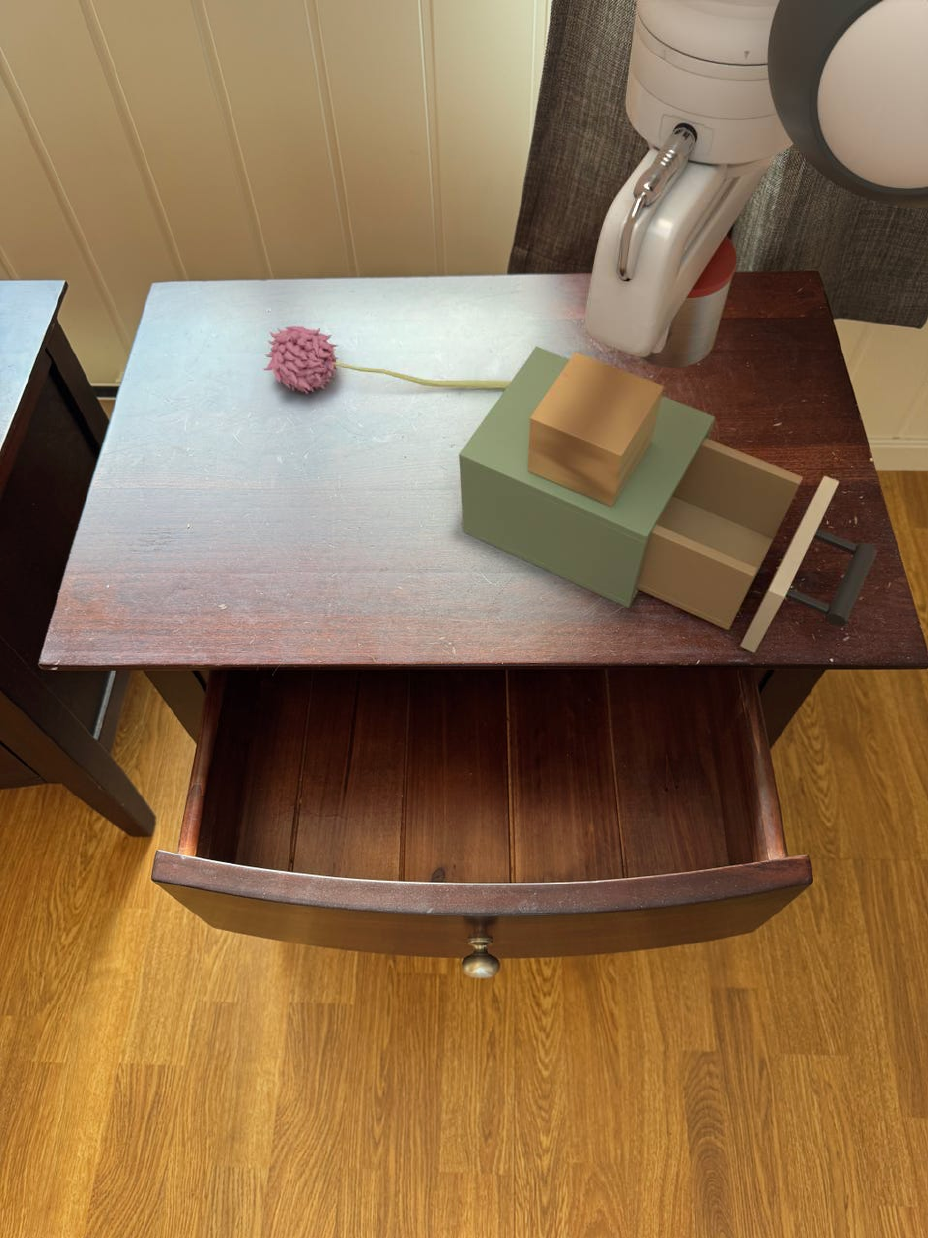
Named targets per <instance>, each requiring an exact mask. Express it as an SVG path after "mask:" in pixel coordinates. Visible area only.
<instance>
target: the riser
mask: <svg viewBox="0 0 928 1238" xmlns="http://www.w3.org/2000/svg"><path fill="white" fill-rule="evenodd" d="M664 389H665V386H664V385H661V384H659V383H656V382H654V381H652V380H649V379H646V378H644V377H641V376H638V375H636V374H633V373H631V372H628V371H625V370H623V369H620V368H618V367H615V366H612V365H610V364H608V363H605V362H603V361H600V360H597V359H596V358H595V359H594V358H592V357H589V356H588V355H585V354H582V353H579V352H577V351H575V352H573V355H572V356H571V358H570V360H569V362H568V363H567V365H566V366H565V367H564V369H563V370H562V372H561V373H560V375H559V376H558V378H557V379H556V381H555V382H554V383H553V385H552V386H551V388H550V389H549V391H548V392H547V394H546V395H545V397H544V398H543V399H542V401H541V402H540V404H539V405H538V407H537V408H536V410H535V411H534V413H533V414H532V415H531V417H530V429H529V450H528V471H530V472H532V473H534V474H537V475H539V476H541V477H543V478H546V479H548V480H550V481H553V482H555V483H557V484H560V485H562V486H564V487H566V488H569V489H571V490H573V491H576V492H578V493H580V494H583V495H585V496H587V497H589V498H592V499H594V500H596V501H599V502H601V503H603V504H606V505H608V506H610V507H612V506H613V505H614V503H615V502H616V500H617V498H618V497H619V495H620V493H621V492H622V490H623V488H624V487H625V485H626V483H627V482H628V480H629V478H630V477H631V475H632V473H633V472H634V470H635V468H636V467H637V465H638V463H639V462H640V460H641V458H642V457H643V455H644V453H645V452H646V450H647V448H648V447H649V445H650V443H651V442H652V438H653V434H654V429H655V425H656V421H657V416H658V412H659V407H660V403H661V399H662V396H663V394H664V391H665V390H664Z"/></svg>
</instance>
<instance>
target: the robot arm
mask: <svg viewBox="0 0 928 1238" xmlns="http://www.w3.org/2000/svg"><path fill="white" fill-rule="evenodd" d="M635 6H636V7H635V17H634V25H633V35H632V41H631V42H632V44H631V50H630V51H631V52H630V59H629V65H628V66H629V68H628V75H627V84H626V91H625V92H626V93H625V111H626V115H627V117H628V120H629V121H630V123H631V125H632V128H634V130H635V131H636V132H637V133H638V134H639V135H640V136H641V137H642V138H643V139H644V140H645V141H646V142H647V145H648V148H649V150H648V151H647V153H646V154H645V156H644V157H643V159H642V160H641V161H640V162H639V164H638V165H637V167H635V169H634V170H633V172H632V173H631V175H630V176H629V178H628V179H627V180H626V181H625V183H624V185H623V186H622V187H621V189H620V190H619V191H618V193H617V194H616V196H615V197H614V198H613V201H612V203H611V204H610V206H609V208H608V210H607V213H606V215H605V217H604V220H603V223H602V227H601V230H600V233H599V236H598V242H597V245H596V249H595V255H594V260H593V265H592V271H591V278H590V281H589V286H588V287H589V289H588V294H587V302H586V306H585V314H584V329H585V332H586V334H587V335H588V336H589V337H590V338H592V340H594V341H595V342H597V343H599V344H601V345H604V346H606V347H608V348H610V349H613V350H616V351H619V352H621V353H624V354H628V355H632V356H635V357H637V356H638V357H645V356H648V355H649V354H650V353H651V352H653V353H660V352H661V351H662V350H663V348H664V346H665V345H666V343H667V342H668V340H669V338H670V337H671V335H672V331H673V330H672V329H673V326H674V322H675V317H676V316H675V315H676V313H677V312H678V310H679V308H680V307H681V305H682V304H683V302H684V301H685V299H686V297H687V296H688V294H689V293H690V291H691V290H692V288H693V286H694V285H695V283H696V282H697V280H698V279H699V277H700V275H701V274H702V272H703V271H704V269H705V268H706V266H707V264H708V263H709V261H710V260H711V258H712V256H713V255H714V253H715V252H716V250H717V249H718V247H719V245H720V244H721V242H722V241H723V239H724V238H725V236H726V237H727V235H728V233H729V231H730V230H731V228H732V227H733V225H734V224H735V222H736V220H737V219H738V217H739V216H740V214H741V213H742V211H743V209H744V208H745V206H746V205H747V203H748V202H749V200H750V199H751V197H752V195H753V194H754V192H755V190H756V189H757V188H758V186H759V185H760V183H761V181H762V180H763V178H764V176H765V174H766V173H767V172H768V170H769V169H770V167H771V165H772V164H773V162H774V160H775V159H776V158H777V156H778V154H780V153H782V152H785V151H786V150H788V149H789V148H790V147H792V146H794V147H795V149H796V150H797V151H798V152H799V154H801V156H802V157H803V158H804V160H806V161H807V163H808V164H810V166H811V167H812V168H814V169H815V170H816V171H817V172H818V173H820V175H822V176H823V177H824V178H825V179H827V180H828V181H830V182H831V183H833V184H835V185H837V187H840V188H842V189H843V190H845V191H847V192H849V193H851V194H853V195H856V196H858V197H860V198H862V199H866V200H869V201H871V202H876V203H879V204H884V205H890V206H896V207H903V208H918V209H919V208H921V209H922V208H923V209H924V208H925V209H927V208H928V0H636V5H635ZM638 357H637V358H638Z"/></svg>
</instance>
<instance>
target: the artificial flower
mask: <svg viewBox="0 0 928 1238" xmlns="http://www.w3.org/2000/svg"><path fill="white" fill-rule="evenodd" d="M284 328H285V329H283V330H281V329H280V328H279V327H277V330H278V332H277V333H273V332H271V331H269V334H270V336H271V337H272V338H273V339H274V340H272V341H271V340H268V339H267V342H268V344H269V345H271V348H270V352H269V353H268V354H266V353H265V354H264V356H265V357H266V358H271V359H270V362H269V363H268V364H267V367H265V368H262V370H263V371H272V372H273V374H274V379H275V380H277V381H278V383H280V384H281V383H283V384H284V385H285V386H287V388H288V389H289V390H291V391H292V392H294V391H295V388H296V389H298V391H299V392H301V393H305V394H306V395H309V392H310V391H311V392H312V393H314V388H315V389H316V390H319V388H322V389H323V390H326V387H325V385H326V386H328V384H327V383H326V382H328V383H331V380H330V379H329V378H335V377H336V376H335V375H334V374H332V373H336V371H338V369H337V367H340V368H344V369H350V370H354V371H358V372H364V373H374V374H375V373H376V374H382V375H387V376H391V377H393V378H398V379H400V380H404V381H407V382H410V383H415V384H418V385H421V386H428V387H435V388H474V389H475V388H480V389H481V388H482V389H485V388H486V389H504V390H505V389H506V388H507V387H508V385H509V384H510V382H511V381H505V380H433V379H424V378H420V377H415V376H412V375H409V374H404V373H399V372H396V371H391V370H387V369H383V368H372V367H360V366H353V365H350V364H349V365H348V364H345V363H339V362H338V361H337V360H338V359H339V357H336V355H335V352H334V351H336V349H335V348H336V347H339V345H338V344H332V343H329V342H328V341H327V340H329V339H330V338H331V337H332V336H333V335H332V334H328V335H326V334H324V333H320V332H321V327H318V328H317V329H310V328H306V327H304V326H296V325H289V326H285V327H284ZM335 370H336V371H335ZM308 391H309V392H308Z"/></svg>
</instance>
